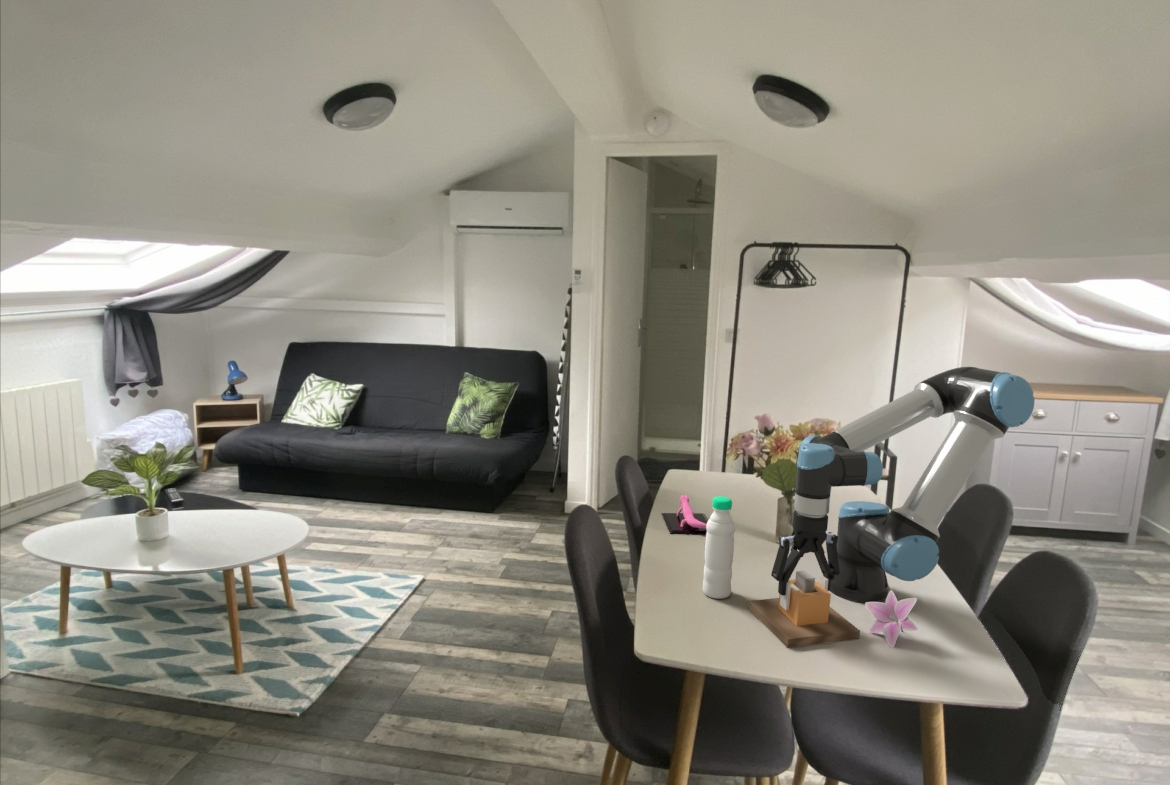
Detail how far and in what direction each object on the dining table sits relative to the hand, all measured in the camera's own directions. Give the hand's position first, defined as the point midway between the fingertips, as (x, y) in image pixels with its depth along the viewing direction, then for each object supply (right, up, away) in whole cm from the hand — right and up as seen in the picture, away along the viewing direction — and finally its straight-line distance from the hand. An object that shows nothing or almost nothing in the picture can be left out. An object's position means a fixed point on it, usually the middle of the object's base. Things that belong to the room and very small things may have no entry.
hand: (802, 605), depth 160 cm
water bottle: (-17, -2, +15) cm, 23 cm away
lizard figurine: (-17, +6, +64) cm, 66 cm away
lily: (+19, -6, -4) cm, 20 cm away
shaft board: (0, -4, +1) cm, 4 cm away
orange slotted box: (0, -2, 0) cm, 2 cm away
